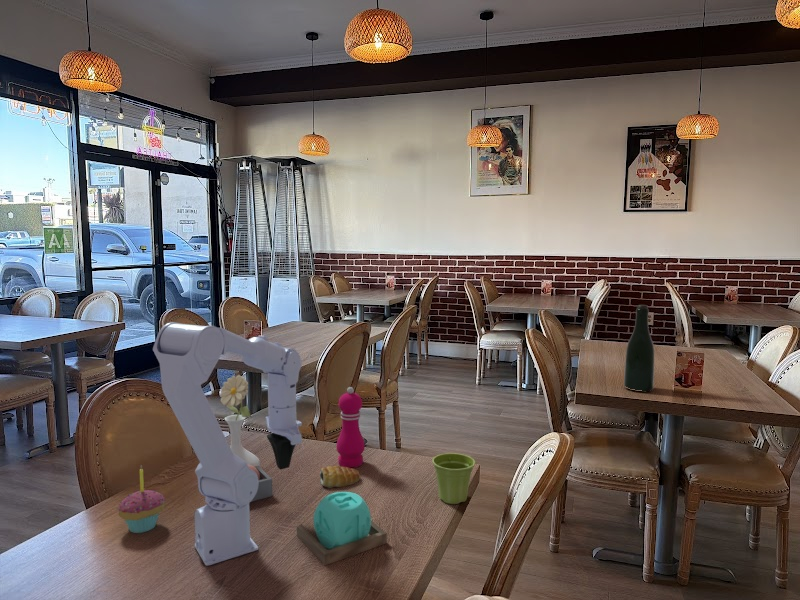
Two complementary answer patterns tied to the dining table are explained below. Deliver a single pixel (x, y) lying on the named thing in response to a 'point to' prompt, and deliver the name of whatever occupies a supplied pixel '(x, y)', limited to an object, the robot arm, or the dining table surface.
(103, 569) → the dining table surface
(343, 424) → the pepper mill
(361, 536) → the decorative dice
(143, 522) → the cupcake
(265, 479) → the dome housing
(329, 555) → the frame
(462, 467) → the plant pot
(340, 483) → the pastry
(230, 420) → the flower in vase
